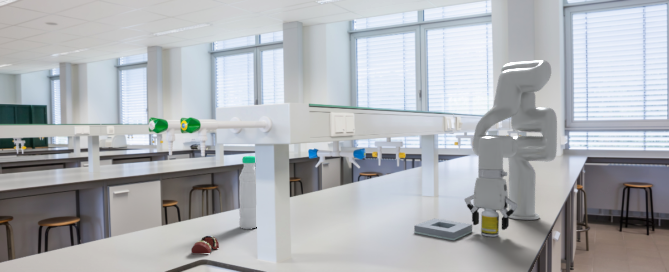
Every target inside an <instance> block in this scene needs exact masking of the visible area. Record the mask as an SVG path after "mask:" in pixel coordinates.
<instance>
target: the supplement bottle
mask: <svg viewBox="0 0 669 272" xmlns="http://www.w3.org/2000/svg"><path fill="white" fill-rule="evenodd" d="M480 215H481V217H480V219H481V220H480V221H481V222H480V225H481V226H480V230H481V231H480V232H481V233H480V234H481V235H482V236H485V237H489V238H492V237H494V238H496V237H498V236H499V232H500V231H499V229H500V228H499V225H500V223H499V221H500V215H499V212H498V211H497V210H492V209H487V208H486V209H483V211H482V212H481V214H480Z"/></svg>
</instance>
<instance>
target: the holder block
mask: <svg viewBox="0 0 669 272" xmlns="http://www.w3.org/2000/svg"><path fill="white" fill-rule="evenodd" d="M413 232H414V234H419V235H424V236H429V237H434V238H439V239H444V240H445V239H446V240H450V241H456V240H457V239H460V238H462V237H464V236H466V235H468V234H471V233H472V232H473V223H471V224H470V223H467V222H458V221H453V220H446V219H440V218H432V219H430V220H426V221H423V222H421V223H418V224H414V231H413Z"/></svg>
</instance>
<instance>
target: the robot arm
mask: <svg viewBox="0 0 669 272" xmlns="http://www.w3.org/2000/svg"><path fill="white" fill-rule="evenodd" d="M500 71H501V72H500V74H499V76H498V79H497V85H496V90H495V95H494V100H493V105H492V108H490V109H489V110H488V111H487V112H486V113H485V114H484V115H483V116H482V117H481V118H480V119H479V121H478V122H477V123H476V126H475V129H474V133H473V138H472V150H473V153H474V154H475V156H478V163H477V164H478V167H477V168H478V169H477V170H478V172H477V173H478V177H476V179H475V183H474V188H473V189H474V190H473V194H472V195H469V196H468V197H465V198H464V202H465V204H466V207H467V208H468V209H469V211H470V213H471V222H472V226H476V225H480V213H479V210H480V209H483V210H484V209H486V208H487V209H492V210H496V211H499V212H500V213H501V215H502V217H501V230H502V231H505V230H507V229H508V227H509V226H510V223H509V221H510V220H509V219H513V220H521V221H525V220H526V221H533V220H538V219H539V218H540V214H539V213H537V212H536V170H535V169H534V167H533V165H532V164H531V163H530V162H544V163H545V162H552V161H554V160H555V158H556V156H557V151H558V150H557V146H558V143H557V142H558V141H557V140H558V119H557V118H558V117H557V113H556V111H555V110H554V109H553V108H552V107H536V92H539V91H540V90H542V89H543V88H544V87H545V85H546V84H548V82H549V80H550V79H551V76H552V67H551V64H550V62H548V61H547V60H543V59H540V60H529V61H516V62H509V63H506V64H504V65H503V66H502V67H501V70H500ZM510 118H511V119H510ZM507 119H510V120H511V122H510V123H511V129H512V130H513V131H515V132H518V133H534V134H535V133H537V134H538V133H540V134H541V136H540V135H539V136H538V135H535V136H534V135H515V136H511V135H498V134H497V135H494V134H487V132H488V131H489V130H490V128H492V127H493V126H495V125H496V124H499V123H500V122H503V121H506V120H507ZM504 159H507V161H508V172H507V171H504ZM507 176H508V184H507V180H506V178H504V177H507ZM472 200H473V204H472V202H471V201H472Z"/></svg>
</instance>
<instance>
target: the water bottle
mask: <svg viewBox="0 0 669 272" xmlns="http://www.w3.org/2000/svg"><path fill="white" fill-rule="evenodd" d="M255 157H256V156H254V155H248V156H247V155H246V156H242V161H241V162H242V164H243V167H242V168H241V172H240V174H239V175H238V176H239V177H238V180H239V187H238V188H239V191H238V195H239V196H238V197H239V198H238V199H239V209H238V210H239V222H238V223H239V228H241V229H242V228H243V230H252V229H251V228H255V229H257V228H256V184H255V168H256V164H255Z"/></svg>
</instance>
